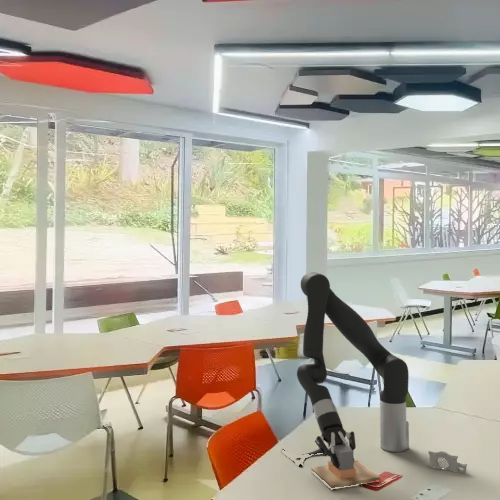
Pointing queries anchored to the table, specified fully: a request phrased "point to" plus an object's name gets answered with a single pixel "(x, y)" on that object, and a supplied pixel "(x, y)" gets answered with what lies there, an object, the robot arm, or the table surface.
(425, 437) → the table surface
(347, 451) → the block
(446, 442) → the table surface
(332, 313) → the robot arm
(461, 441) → the table surface
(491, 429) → the table surface
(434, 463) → the garden wall model
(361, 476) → the oak board
